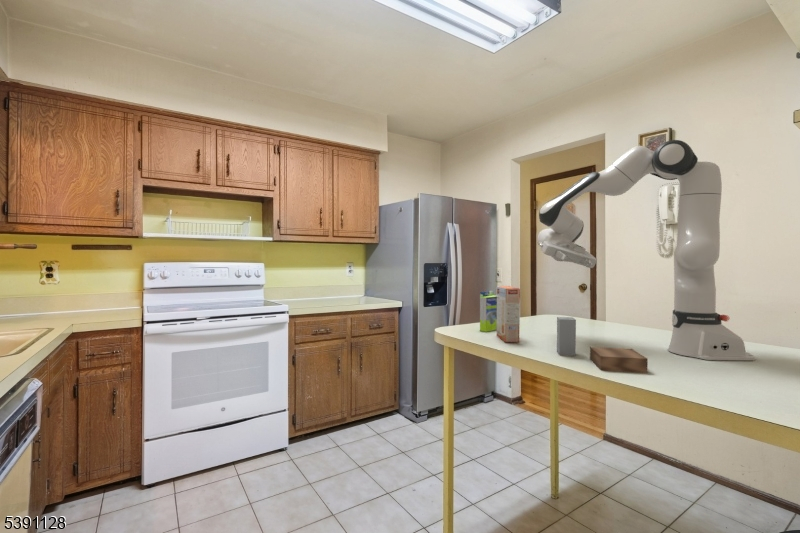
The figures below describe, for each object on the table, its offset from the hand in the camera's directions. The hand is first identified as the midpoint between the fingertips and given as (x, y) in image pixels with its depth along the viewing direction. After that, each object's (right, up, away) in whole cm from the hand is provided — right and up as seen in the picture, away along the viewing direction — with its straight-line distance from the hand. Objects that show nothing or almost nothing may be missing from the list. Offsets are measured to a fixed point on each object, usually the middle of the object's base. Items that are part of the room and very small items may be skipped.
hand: (578, 262), depth 134 cm
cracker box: (-20, -31, +18) cm, 41 cm away
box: (-22, -30, +37) cm, 53 cm away
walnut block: (+2, -31, -20) cm, 37 cm away
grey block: (-7, -31, -5) cm, 32 cm away
